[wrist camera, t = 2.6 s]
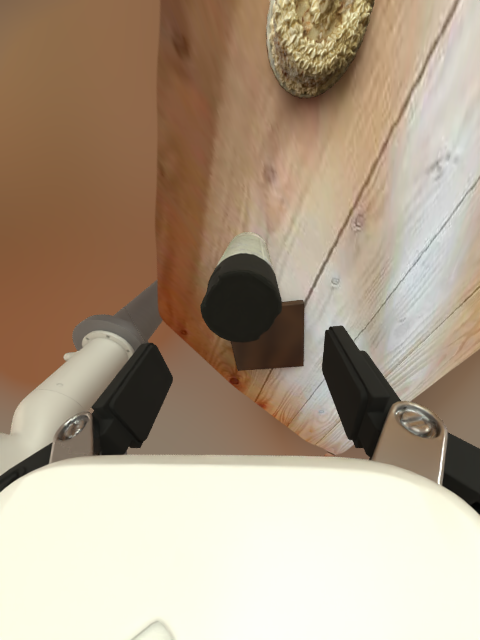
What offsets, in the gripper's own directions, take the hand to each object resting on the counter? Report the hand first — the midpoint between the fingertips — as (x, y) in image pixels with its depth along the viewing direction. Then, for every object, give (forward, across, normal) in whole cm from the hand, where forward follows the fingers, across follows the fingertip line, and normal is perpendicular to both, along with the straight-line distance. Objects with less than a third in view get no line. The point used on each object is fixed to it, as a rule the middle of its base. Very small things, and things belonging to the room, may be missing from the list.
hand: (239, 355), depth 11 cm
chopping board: (+25, -1, +18) cm, 31 cm away
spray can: (+25, 0, 0) cm, 25 cm away
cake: (+25, -10, -21) cm, 34 cm away
